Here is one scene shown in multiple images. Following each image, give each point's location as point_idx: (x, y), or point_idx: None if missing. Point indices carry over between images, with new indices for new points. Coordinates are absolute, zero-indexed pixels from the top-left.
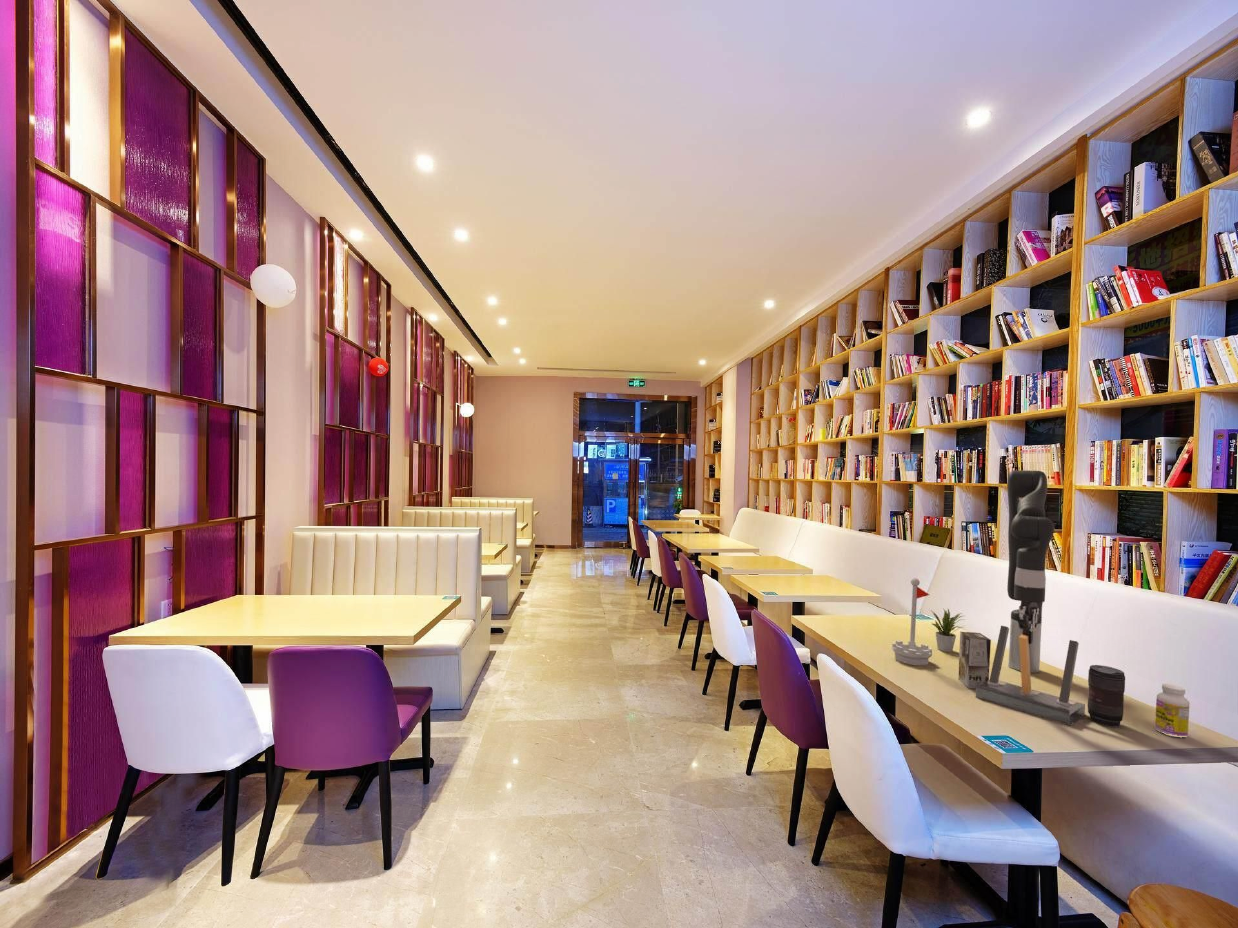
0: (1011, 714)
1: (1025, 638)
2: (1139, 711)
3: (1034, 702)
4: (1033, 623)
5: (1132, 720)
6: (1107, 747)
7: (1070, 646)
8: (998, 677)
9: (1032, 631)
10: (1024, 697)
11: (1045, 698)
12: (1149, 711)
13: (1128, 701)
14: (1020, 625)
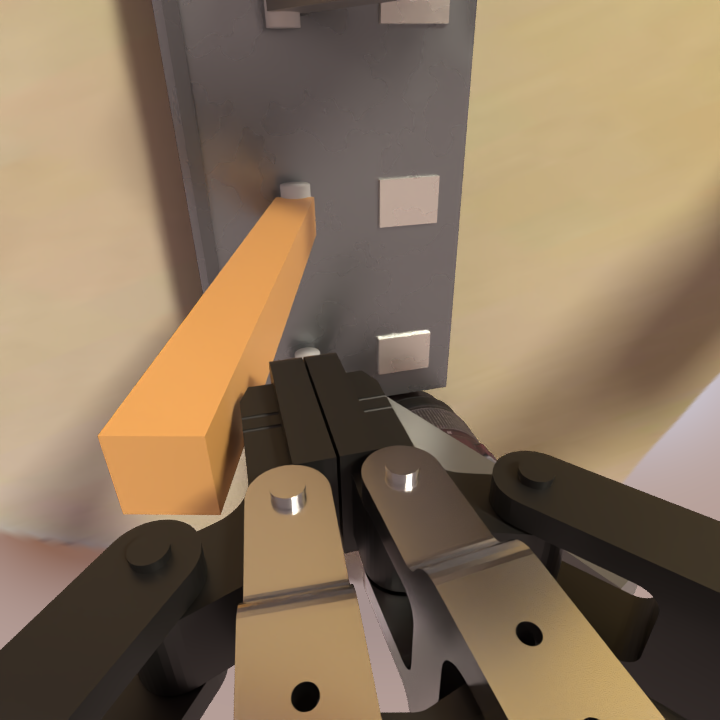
0: (67, 205)
1: (126, 506)
2: (625, 423)
3: (208, 285)
4: (408, 681)
5: (506, 450)
6: (120, 533)
7: (563, 560)
8: (325, 8)
9: (357, 547)
10: (266, 208)
11: (364, 273)
12: (648, 433)
13: (716, 368)
14: (47, 637)
